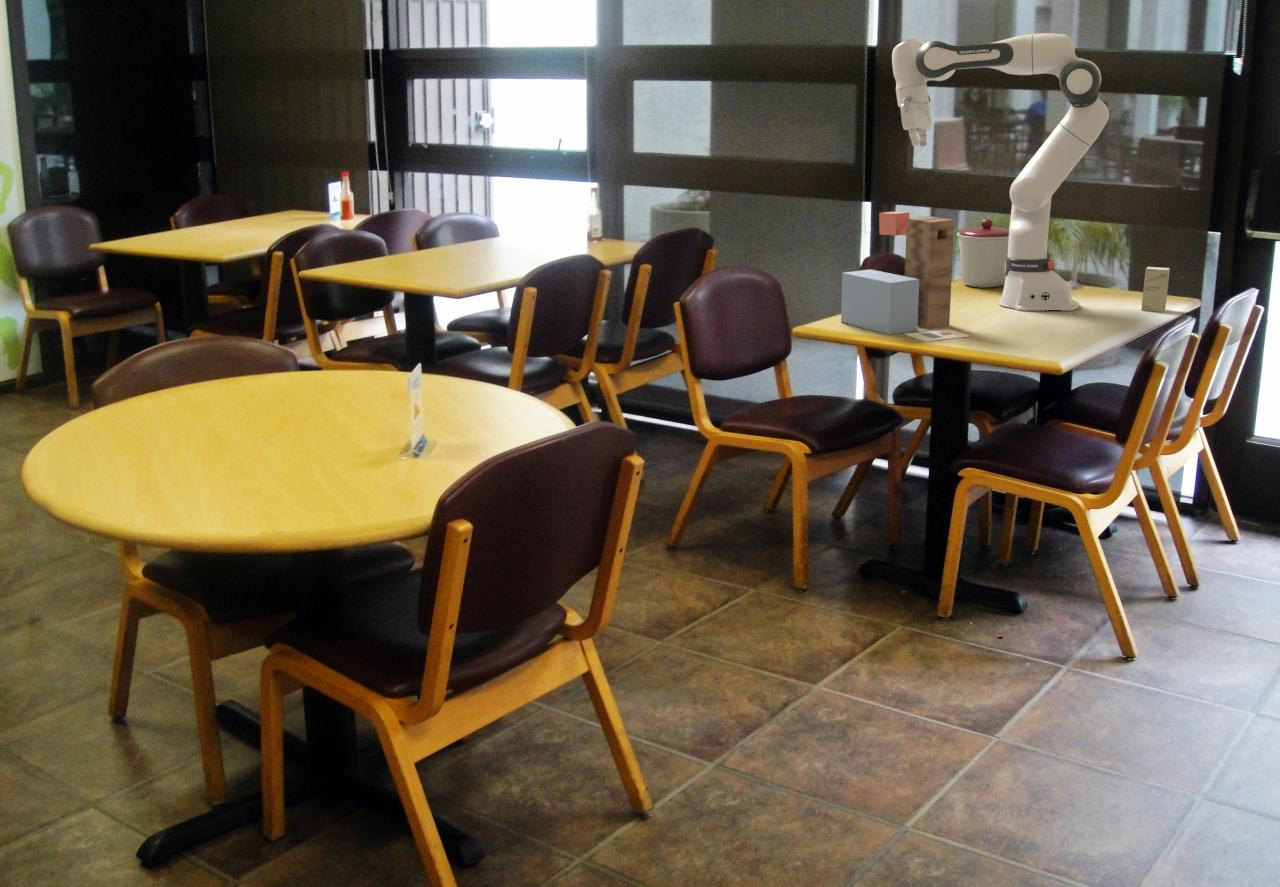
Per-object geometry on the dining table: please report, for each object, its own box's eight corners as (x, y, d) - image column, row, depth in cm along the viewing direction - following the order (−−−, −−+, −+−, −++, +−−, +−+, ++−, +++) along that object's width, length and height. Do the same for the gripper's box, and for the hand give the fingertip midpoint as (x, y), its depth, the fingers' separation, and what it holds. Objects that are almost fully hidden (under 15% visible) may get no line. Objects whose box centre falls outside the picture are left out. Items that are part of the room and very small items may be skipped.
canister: (1014, 290, 428) (1018, 222, 422) (955, 289, 432) (958, 222, 426) (1011, 280, 445) (1015, 215, 439) (954, 280, 449) (957, 215, 443)
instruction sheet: (904, 334, 368) (904, 333, 368) (948, 329, 374) (948, 328, 373) (925, 341, 360) (925, 340, 360) (970, 336, 365) (970, 335, 365)
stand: (903, 322, 384) (906, 218, 376) (924, 319, 388) (929, 216, 379) (927, 328, 375) (931, 222, 367) (949, 325, 379) (954, 219, 371)
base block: (841, 322, 386) (842, 272, 382) (868, 318, 391) (870, 269, 387) (888, 334, 369) (890, 282, 365) (917, 330, 374) (919, 279, 370)
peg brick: (879, 234, 389) (879, 213, 387) (893, 233, 391) (892, 211, 390) (925, 237, 373) (924, 214, 371) (938, 235, 375) (938, 213, 374)
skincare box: (1140, 310, 394) (1144, 268, 391) (1143, 307, 398) (1146, 266, 395) (1164, 312, 391) (1167, 269, 388) (1166, 309, 395) (1170, 267, 392)
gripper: (914, 93, 387) (921, 142, 389) (931, 97, 405) (938, 144, 407) (892, 98, 390) (900, 147, 391) (910, 102, 408) (917, 148, 410)
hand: (919, 145), depth 399 cm, fingers open, 8 cm apart
